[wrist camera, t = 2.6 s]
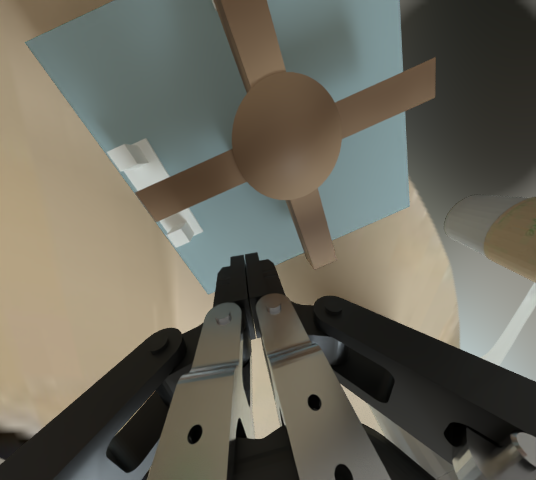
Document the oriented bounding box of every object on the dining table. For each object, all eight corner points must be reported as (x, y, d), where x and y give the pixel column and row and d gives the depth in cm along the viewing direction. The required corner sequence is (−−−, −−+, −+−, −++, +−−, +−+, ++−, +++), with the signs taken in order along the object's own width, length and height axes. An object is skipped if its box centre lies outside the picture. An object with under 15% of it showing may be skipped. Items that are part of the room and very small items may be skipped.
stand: (387, 200, 21) (428, 211, 17) (211, 277, 22) (205, 309, 17) (358, -84, 12) (428, -220, 8) (60, 55, 13) (-34, 0, 8)
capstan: (387, 203, 18) (438, 219, 13) (223, 275, 18) (219, 314, 14) (351, -138, 10) (456, -402, 5) (50, 4, 10) (-105, -125, 5)
